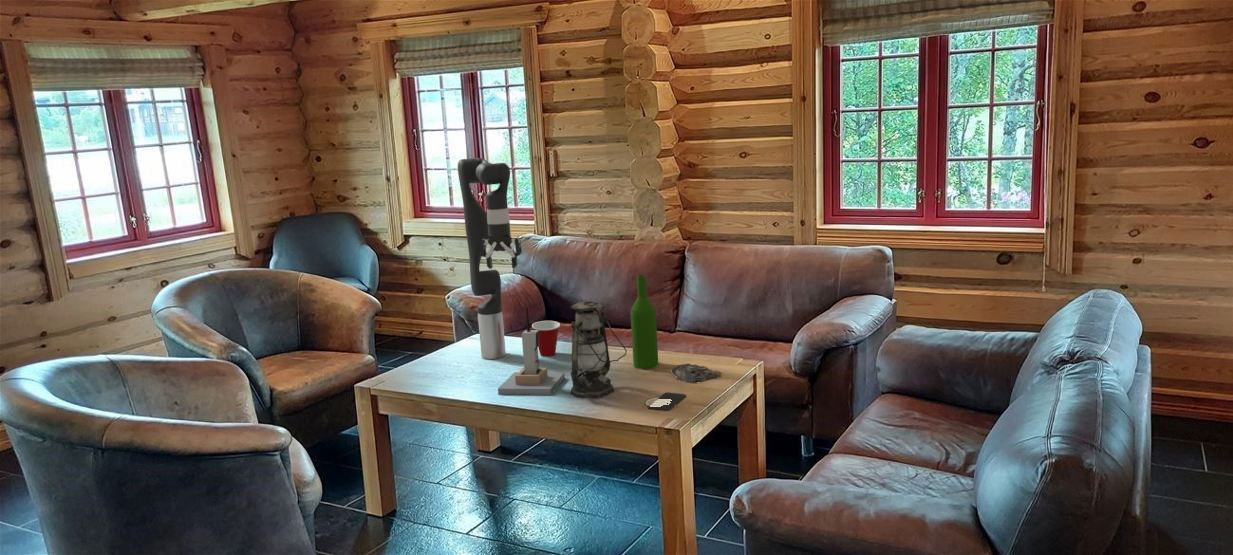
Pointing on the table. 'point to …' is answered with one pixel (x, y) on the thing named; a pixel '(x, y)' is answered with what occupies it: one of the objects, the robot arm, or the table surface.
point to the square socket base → (532, 383)
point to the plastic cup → (547, 336)
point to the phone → (675, 400)
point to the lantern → (590, 352)
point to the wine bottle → (644, 329)
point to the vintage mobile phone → (530, 349)
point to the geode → (694, 373)
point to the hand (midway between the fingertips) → (502, 268)
